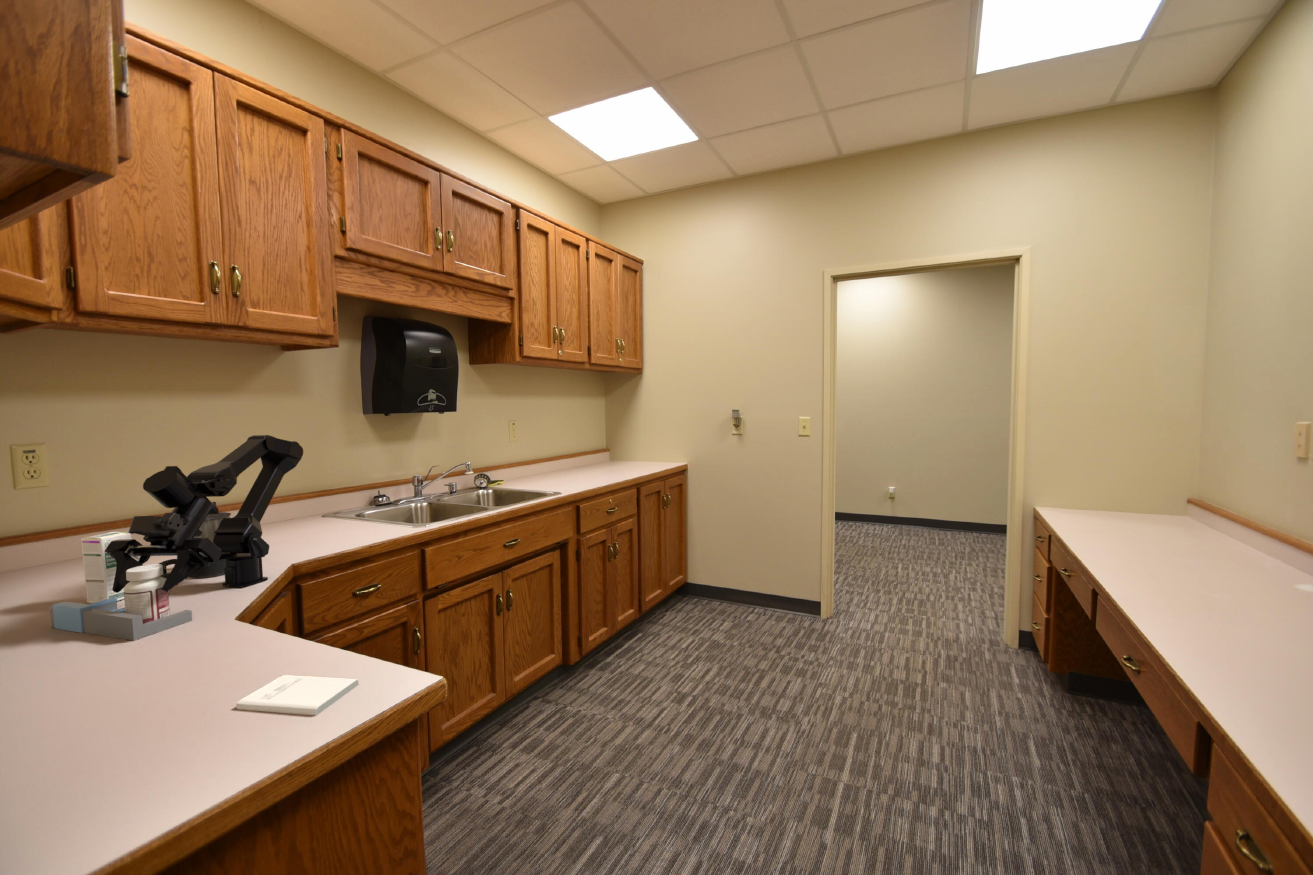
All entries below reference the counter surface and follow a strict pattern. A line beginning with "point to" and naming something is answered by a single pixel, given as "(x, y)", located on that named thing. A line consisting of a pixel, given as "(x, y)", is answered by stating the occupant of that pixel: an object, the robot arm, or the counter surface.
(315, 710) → the external hard drive
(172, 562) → the milk frother
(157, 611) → the pill bottle
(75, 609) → the divider rack
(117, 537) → the syrup box
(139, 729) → the counter surface
